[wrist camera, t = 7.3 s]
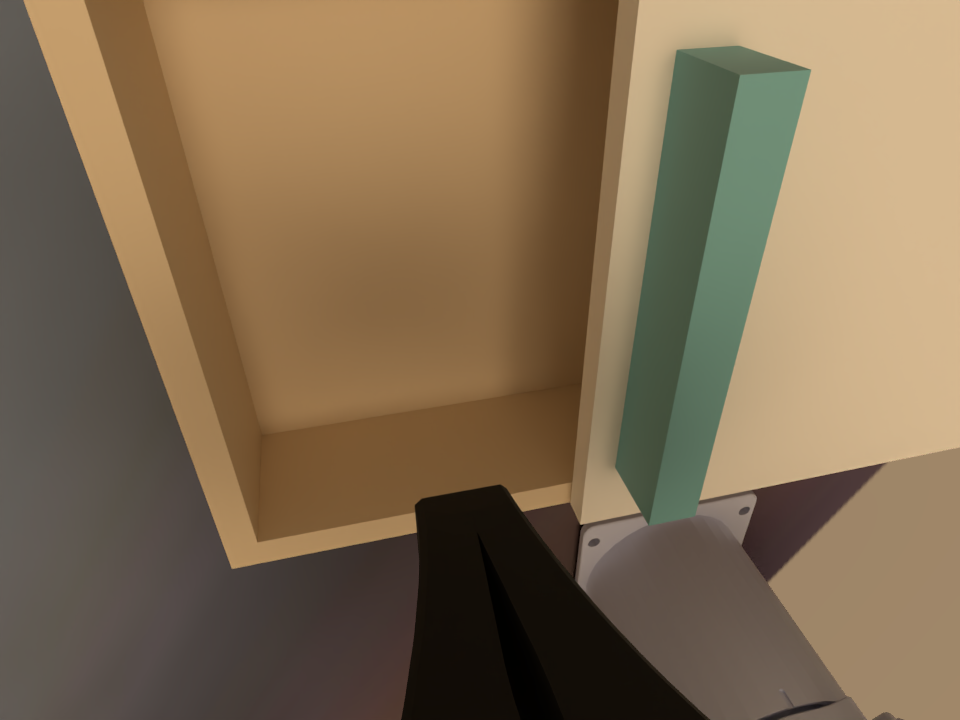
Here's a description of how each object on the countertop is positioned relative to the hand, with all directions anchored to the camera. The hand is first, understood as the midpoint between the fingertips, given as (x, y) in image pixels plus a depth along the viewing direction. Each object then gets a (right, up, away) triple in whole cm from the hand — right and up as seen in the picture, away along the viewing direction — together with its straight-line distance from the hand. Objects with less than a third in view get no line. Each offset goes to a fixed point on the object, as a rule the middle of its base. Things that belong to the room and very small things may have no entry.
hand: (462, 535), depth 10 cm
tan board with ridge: (+13, +7, +8) cm, 16 cm away
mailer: (+2, +7, +9) cm, 11 cm away
